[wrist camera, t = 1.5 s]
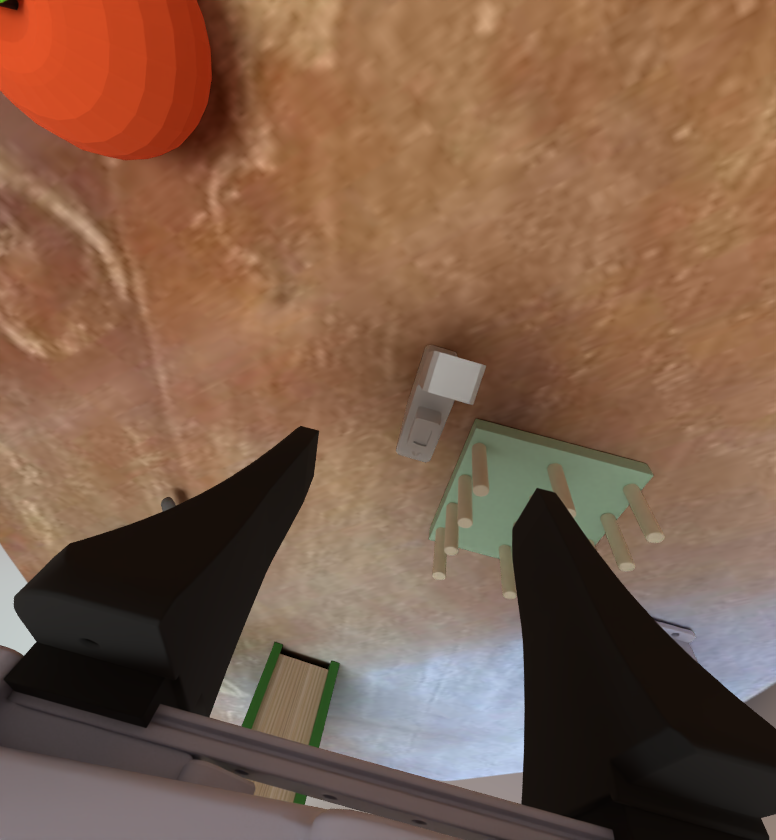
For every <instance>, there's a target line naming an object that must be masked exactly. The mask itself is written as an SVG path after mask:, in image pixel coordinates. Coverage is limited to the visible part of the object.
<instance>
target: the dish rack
mask: <svg viewBox="0 0 776 840" xmlns="http://www.w3.org/2000/svg"><path fill="white" fill-rule="evenodd" d="M652 477H653V473H652V472H651V470H650V468H649V467H648V465H647V464H645V463H641V462H638V461H634V460H630V459H626V458H623V457H619V456H615V455H611V454H608V453H604V452H600V451H596V450H593V449H589V448H585V447H581V446H578V445H574V444H570V443H566V442H562V441H559V440H555V439H551V438H547V437H544V436H540V435H536V434H532V433H529V432H525V431H521V430H517V429H514V428H510V427H506V426H502V425H499V424H495V423H491V422H487V421H483V420H480V419H475V421H474V424H473V426H472V428H471V431H470V433H469V436H468V438H467V440H466V443H465V445H464V448H463V450H462V452H461V455H460V457H459V460H458V462H457V464H456V467H455V469H454V472H453V474H452V476H451V479H450V481H449V484H448V486H447V488H446V491H445V493H444V496H443V498H442V500H441V503H440V505H439V508H438V510H437V512H436V515H435V517H434V520H433V522H432V524H431V527H430V530H429V540H432V541H435V548H434V560H433V573H432V576H433V578H434V579H436V580H443V579H445V577H446V558H447V555H450V556H454V555H456V554H457V553H458V548H461V549H465V550H468V551H472V552H476V553H479V554H483V555H487V556H490V557H494V558H498V559H500V570H501V581H502V593H503V596H504V598H506V599H514V598H515V597H516V587H515V578H514V570H513V560H512V528H513V526H514V525H515V523H516V521H517V520H518V518H519V516H520V515H521V513H522V511H523V510H524V508H525V506H526V505H527V503H528V501H529V500H530V498H531V496H532V495H533V493H534V491H535V490H536V488H540V489H544V490H548V491H552V492H555V493H556V494H557V495H558V496H559V498H560V499H561V501H562V502H563V503H564V505H565V506H566V508H567V509H568V511H569V512H570V514H571V515H572V516H573V518H574V519H575V521H576V522H577V524H578V525H579V527H580V528H581V530H582V531H583V532H584V534H585V535H586V537H587V538H588V539H589V541H590V542H591V544H592V545H593V546H594V548H595V545H596V544H597V542H598V541H599V540H600V539H601V538H602V536H603V535H604V534H605V533H606V536H607V539H608V541H609V544H610V547H611V549H612V552H613V555H614V557H615V560H616V563H617V565H618V568H619V569H620V570H621V571H624V572H628V571H632V570H633V569H634V568H635V564H634V561H633V559H632V557H631V554H630V552H629V549H628V547H627V545H626V542H625V540H624V537H623V535H622V533H621V530H620V528H619V525H618V523H617V521H616V520H617V519H618V517H619V516H620V515H621V514H622V513H623V511H624V510H625V509H626V508H627V507H628V505H630V507H631V509H632V511H633V513H634V515H635V517H636V519H637V521H638V523H639V526H640V528H641V530H642V532H643V534H644V536H645V538H646V540H647V541H648V542H650V543H659V542H661V541H663V540H664V534H663V532H662V530H661V528H660V526H659V524H658V522H657V521H656V519H655V517H654V515H653V513H652V511H651V509H650V507H649V505H648V504H647V502H646V500H645V498H644V496H643V494H642V492H641V490H642V489H643V488H644V486H645V485H646V484H647V483H648V482H649V480H650V479H651V478H652ZM595 549H596V548H595Z"/></svg>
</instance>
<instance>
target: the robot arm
mask: <svg viewBox="0 0 776 840" xmlns="http://www.w3.org/2000/svg"><path fill="white" fill-rule="evenodd" d="M318 435H319V431H318V430H314V429H310V428H306V427H303V426H300V427H298V428H297V429H295V430H294V431H293V432H292V433H291V434H289V435H288V436H287V437H286V438H285V439H283V440H282V441H281V442H280V443H278V444H277V445H276V446H274V447H273V448H272V449H271V450H269V451H268V452H266V453H265V454H264V455H262V456H261V457H260V458H258V459H257V460H255V461H254V462H253V463H251V464H250V465H248V466H247V467H245V468H244V469H242V470H241V471H239V472H237V473H236V474H234V475H233V476H231V477H230V478H228V479H226V480H225V481H223V482H221V483H220V484H218V485H216V486H214V487H213V488H211V489H209V490H207V491H205V492H203V493H201V494H199V495H198V496H195V497H193V498H191V499H189V500H187V501H185V502H183V503H181V504H179V505H177V506H175V507H172V508H170V509H168V510H166V511H163V512H161V513H158V514H156V515H153V516H151V517H148V518H146V519H143V520H141V521H138V522H135V523H133V524H130V525H127V526H124V527H121V528H119V529H116V530H112V531H109V532H106V533H103V534H100V535H96V536H93V537H90V538H87V539H84V540H80V541H77V542H73V543H70V544H69V545H68V546H66V547H65V548H64V549H63V550H62V551H61V552H59V553H58V554H57V555H56V556H55V557H54V558H53V559H52V560H51V561H50V562H49V563H48V564H47V565H46V566H45V567H44V568H43V569H42V570H41V571H40V572H39V573H38V574H37V575H36V576H35V577H34V578H33V579H32V580H30V581H29V582H28V583H27V584H26V586H25V587H24V588H22V589H21V590H20V591H19V592H18V593H17V594H16V595H15V597H14V609H15V611H16V613H17V615H18V616H19V618H20V619H21V621H22V622H23V623H24V625H25V626H26V628H27V629H28V630H29V632H30V633H31V635H32V636H33V637H34V639H35V640H36V641H37V642H36V643H35V644H34V645H33V646H32V648H31V649H30V650H29V651H28V652H27V653H26V655H24V656H23V655H22V654H20V653H19V652H17V651H15V650H13V649H10V648H8V647H4V646H1V645H0V840H769V835H768V833H767V831H766V829H765V826H764V824H763V822H762V820H761V818H763V817H767V816H770V815H774V814H776V729H775V728H774V727H773V726H772V725H770V724H769V723H768V722H767V721H766V720H764V719H763V718H762V717H761V716H759V715H758V714H757V713H756V712H754V711H753V710H752V709H751V708H750V707H748V706H747V705H746V704H745V703H743V702H742V701H741V700H740V699H738V698H737V697H736V696H735V695H734V694H732V693H731V692H730V691H729V690H728V689H727V688H726V687H724V686H723V685H722V684H721V683H720V682H719V681H718V680H717V679H715V678H714V677H713V676H712V675H711V674H710V673H709V672H708V671H706V670H705V669H704V668H703V667H702V666H701V665H700V664H699V663H698V661H697V659H696V657H695V655H694V653H693V651H692V648H691V646H690V644H689V643H691V642H692V641H694V640H695V639H696V636H695V634H694V632H693V631H690V630H687V629H683V628H680V627H676V626H673V625H669V624H665V623H662V622H658V621H655V620H654V619H653V618H652V617H651V616H650V615H649V614H648V613H647V611H646V610H645V609H644V608H643V607H642V606H641V605H640V604H639V602H638V601H637V600H636V599H635V598H634V597H633V596H632V595H631V594H630V592H629V591H628V590H627V589H626V588H625V586H624V585H623V584H622V583H621V582H620V580H619V579H618V578H617V577H616V575H615V574H614V573H613V571H612V570H611V569H610V568H609V566H608V565H607V564H606V563H605V561H604V560H603V559H602V557H601V556H600V555H599V553H598V552H597V551H596V549H595V548H594V546H593V545H592V544H591V542H590V541H589V539H588V538H587V537H586V535H585V534H584V532H583V531H582V530H581V528H580V527H579V525H578V524H577V522H576V521H575V519H574V518H573V516H572V515H571V514H570V512H569V511H568V509H567V508H566V506H565V505H564V503H563V502H562V501H561V499H560V498H559V496H558V495H557V494H556V493H555V492H552V491H548V490H544V489H540V488H536V490H535V491H534V493H533V495H532V496H531V498H530V500H529V501H528V503H527V505H526V506H525V508H524V510H523V511H522V513H521V515H520V516H519V518H518V520H517V521H516V523H515V525H514V526H513V528H512V560H513V568H514V576H515V583H516V590H517V598H518V605H519V612H520V619H521V626H522V636H523V654H524V698H525V719H524V763H523V787H522V788H523V789H522V804H518V803H515V802H511V801H507V800H504V799H500V798H497V797H493V796H489V795H486V794H482V793H478V792H475V791H471V790H468V789H464V788H461V787H457V786H454V785H450V784H446V783H442V782H439V781H436V780H432V779H428V778H425V777H421V776H418V775H414V774H410V773H407V772H403V771H400V770H396V769H392V768H389V767H385V766H382V765H378V764H374V763H371V762H367V761H364V760H360V759H356V758H353V757H349V756H346V755H342V754H338V753H335V752H331V751H328V750H324V749H320V748H317V747H313V746H310V745H306V744H302V743H299V742H295V741H292V740H288V739H284V738H281V737H277V736H274V735H270V734H266V733H263V732H259V731H256V730H252V729H248V728H245V727H241V726H238V725H234V724H230V723H227V722H223V721H220V720H216V719H213V718H209V716H210V714H211V711H212V708H213V705H214V703H215V700H216V697H217V695H218V692H219V689H220V687H221V684H222V681H223V679H224V676H225V673H226V671H227V668H228V666H229V663H230V660H231V658H232V655H233V653H234V650H235V648H236V645H237V643H238V640H239V637H240V635H241V632H242V630H243V627H244V625H245V623H246V620H247V618H248V615H249V613H250V610H251V608H252V605H253V603H254V600H255V598H256V596H257V593H258V591H259V589H260V586H261V584H262V581H263V579H264V577H265V574H266V572H267V570H268V568H269V566H270V564H271V562H272V560H273V558H274V556H275V554H276V552H277V551H278V549H279V547H280V545H281V543H282V541H283V539H284V538H285V536H286V534H287V532H288V530H289V528H290V527H291V525H292V523H293V521H294V519H295V517H296V515H297V514H298V512H299V510H300V508H301V506H302V504H303V502H304V500H305V497H306V495H307V492H308V490H309V487H310V484H311V482H312V479H313V477H314V469H315V461H316V452H317V444H318ZM245 778H246V779H245ZM247 779H249V780H253V781H256V782H260V783H263V784H267V785H270V786H274V787H278V788H281V789H285V790H288V791H292V792H295V793H299V794H303V795H306V796H310V797H313V798H317V799H320V800H325V801H328V802H331V803H335V804H338V805H342V806H345V807H349V808H352V809H356V810H360V811H364V812H367V813H363V812H359V811H354V810H346V809H323V808H318V807H313V806H307V805H302V804H297V803H292V802H287V801H282V800H277V799H271V798H266V797H261V796H256V795H254V792H255V789H256V788H255V785H254V783H253V782H251V781H249V780H247ZM368 813H370V814H368ZM373 814H374V815H373ZM391 819H392V820H391ZM416 826H417V827H416ZM423 828H424V829H423ZM448 835H449V836H448Z"/></svg>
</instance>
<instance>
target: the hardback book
mask: <svg viewBox="0 0 776 840" xmlns="http://www.w3.org/2000/svg"><path fill="white" fill-rule="evenodd" d="M282 646H283V645H282V644H279V643H276V642H275V643H274V645H273V648H272V651H271V653H270V656H269V658H268V661H267V663H266V666H265V668H264V671H263V673H262V676H261V678H260V681H259V684H258V686H257V689H256V691H255V694H254V696H253V699H252V701H251V704H250V706H249V709H248V711H247V714H246V717H245V719H244V722H243V724H242V727H245V728H248V729H252V730H256V731H259V732H263V733H266V734H270V735H274V736H277V737H281V738H284V739H288V740H292V741H295V742H299V743H302V744H306V745H310V746H313V747H317V748H319V745H320V741H321V737H322V733H323V729H324V725H325V721H326V717H327V713H328V709H329V705H330V701H331V697H332V693H333V689H334V685H335V681H336V677H337V673H338V669H339V664H340V663H336V662H333V661H331V663H330V665H329V667H328V669H325V668H321V667H318V666H315V665H312V664H309V663H306V662H303V661H300V660H297V659H294V658H291V657H288V656H285V655H282V654H280V652H281V649H282ZM245 779H246V778H245ZM247 780H249V779H247ZM249 781H251V782H253V783H254V785H255V788H256V789H255V792H254V795H256V796H261V797H266V798H271V799H277V800H282V801H287V802H292V803H297V804H302V805H305V801H306V797H307V796H306V795H303V794H299V793H295V792H292V791H288V790H285V789H281V788H278V787H274V786H270V785H267V784H263V783H260V782H256V781H253V780H249Z"/></svg>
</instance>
